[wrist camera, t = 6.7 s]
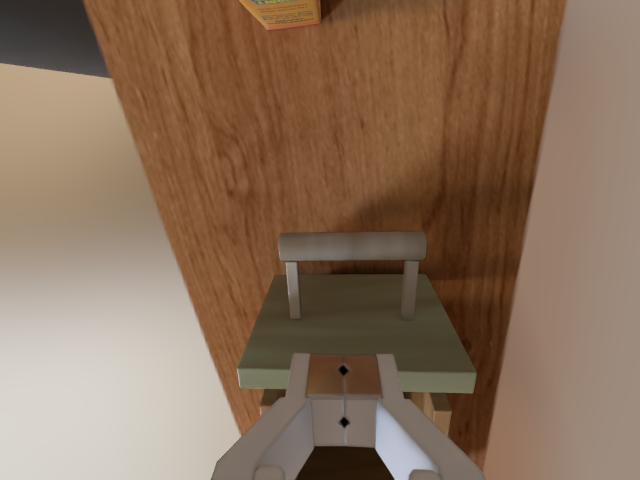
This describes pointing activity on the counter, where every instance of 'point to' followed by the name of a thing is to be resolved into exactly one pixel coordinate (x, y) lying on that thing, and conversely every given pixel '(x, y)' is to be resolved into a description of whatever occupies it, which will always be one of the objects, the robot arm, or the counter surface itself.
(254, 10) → the supplement box
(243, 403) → the counter surface
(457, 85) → the counter surface
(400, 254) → the drawer
